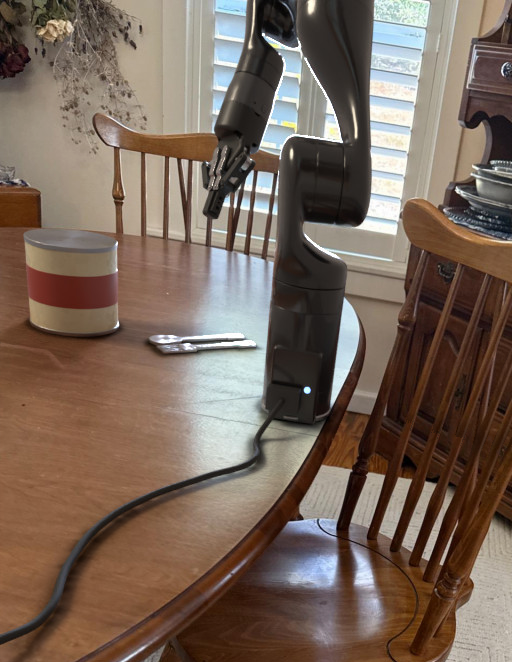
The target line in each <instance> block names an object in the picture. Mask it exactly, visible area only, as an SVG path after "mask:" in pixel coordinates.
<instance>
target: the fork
mask: <svg viewBox="0 0 512 662" xmlns="http://www.w3.org/2000/svg"><path fill="white" fill-rule="evenodd" d="M235 348H236V349H237V348H238V349H247V348H257V343H255V342H254V341H252V340H239V341H233V342H221V343H219V342H218V343H203V344H201V343H200V344H191V342H186V343H181V344H178V345H163V346H159V345H156V349H157V350H158V351H159V352H161V353H162V354H163V355H167V354H168V355H169V354H180V353H181V354H184V353H197V351H201V350H202V351H203V350H204V351H205V350H218V349H235Z"/></svg>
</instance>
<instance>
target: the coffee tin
mask: <svg viewBox="0 0 512 662" xmlns="http://www.w3.org/2000/svg"><path fill="white" fill-rule="evenodd" d="M23 241H24V251H25V270H26V283H27V295H28V306H29V307H28V308H29V324H30V326H32V328H34V329H36V330H38V331H41V332H44V333H47V334H51V335H55V336H56V335H57V336H64V337H72V338H73V337H75V338H90V337H100V336H106V335H110V334H112V333H115V332H116V331H118V330H119V327H120V323H119V302H118V301H119V274H118V273H119V272H118V248H119V247H118V245H119V244H118V241H117V240H116V239H115V238H113V237H111V236H108V235H105V234H101V233H97V232H92V231H87V230H80V229H70V228H37V229H30V230H26V231H25V232H24V233H23Z"/></svg>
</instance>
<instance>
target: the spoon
mask: <svg viewBox="0 0 512 662" xmlns="http://www.w3.org/2000/svg"><path fill="white" fill-rule="evenodd" d="M245 339H246V336H245V335H243V334H241V333H239V332H237V333H236V332H235V333H222V334H211V335H210V334H209V335H192V336H177V335H172V334H171V335H164V334H154V335H150V336H149V338H148V341H149V343H150V344H152V345H154V346H163V345H178V344H183V343H191V342H193V343H194V342H209V341H245Z"/></svg>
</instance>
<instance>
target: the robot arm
mask: <svg viewBox="0 0 512 662" xmlns="http://www.w3.org/2000/svg"><path fill="white" fill-rule="evenodd" d="M374 22H375V0H246V7H245V27H244V28H245V29H244V38H243V46H242V48H241V53H240V56H239V59H238V61H237V62H238V63H237V65H236V68H235V71H234V74H233V76H232V78H231V80H230V83H229V84H228V86H227V89H226V92H225V95H224V97H223V101H222V103H221V106H220V109H219V112H218V114H217V117H216V121H215V124H214V126H213V132H214V135H215V137H216V138H217V141H218V144H217V145H216V147H215V148H214V150H213V152H212V159H211V160H210V161H209V162H207V160H204V161H202V163H201V165H200V168H201V180H202V188H203V189H204V190H205V191H207V192H208V194H207V197H206V200H205V202H204V205H203V208H202V215H203V217H205V218H207V219H209V220H211V221H212V220H219V217H220V214H221V212H222V209H223V206H224V203H225V200H226V199H227V198H229V197H230V195H231V193H232V194H236V192H237V191H238V190H239V188H240V187H241V186H242V185H243V183H244V181H246V179H247V178H248V176H249V175H250V174H251V172H252V171H253V169H254V168H255V167H256V164H257V162H256V161H255V160H254V159H252V157H251V155H255V154H256V153H258V152H259V151H260V148H261V145H262V143H263V139H264V137H265V133H266V130H267V128H268V125H269V122H270V119H271V116H272V113H273V110H274V105H275V101H276V97H277V94H278V91H279V88H280V86H281V83H282V80H283V76H284V73H285V70H286V62H285V59H284V57H283V56H282V54H281V53H280V52H279V51H278V50H277V49H276V48H275V47H274V46H273V45H271V44H270V43H269V42H268V41H267V40H266V38H268V39H269V40H271V41H273V42H275V43H277V44H279V45H281V46H283V47H285V48H287V49H289V50H297V49H299V48H300V51H301V53H302V56H303V57H304V60H305V61H306V63H307V65H308V67H309V68H310V71H311V73H312V74H313V76H314V78H315V80H316V81H317V83H318V85H319V86H320V88H321V89H322V91H323V93H324V95H325V97H326V98H327V100H328V102H329V105H330V108H331V109H332V112H333V114H334V118H335V121H336V124H337V128H338V133H339V139H340V140H333V139H328V138H320V137H315V136H308V135H300V134H292V135H290V136H288V137H287V138H286V139H285V141H284V143H283V145H282V147H281V151H280V156H279V162H278V176H277V203H276V204H277V207H276V209H277V210H276V230H275V231H276V232H275V242H274V243H275V245H274V256H273V265H272V274H271V275H272V277H271V287H270V288H271V289H270V301H269V310H268V311H269V312H268V323H267V324H268V325H267V333H266V334H267V335H266V345H265V346H266V348H265V361H264V372H263V385H262V388H263V389H262V397H261V400H260V407H261V409H262V410H263V411H264V412H265V413H267V417H266V418H265V420H264V422H262V424H261V426H260V427H259V429H258V430H257V431H256V433H255V435H254V437H253V441H252V447H253V455H252V456H251V457H250V458H248V459H247V460H245V461H244V462H241V463H239V464H236V465H232V466H228V467H224V468H220V469H216V470H212V471H208V472H205V473H202V474H199V475H196V476H193V477H190V478H187V479H184V480H181V481H177V482H174V483H171V484H168V485H165V486H162V487H159V488H156V489H154V490H151V491H149V492H147V493H144V494H142V495H141V496H138V497H136V498H134V499H132V500H130V501H128V502H126V503H124V504H122V505H121V506H119V507H117V508H115V509H114V510H112V511H110V512H109V513H108V514H106V515H105V516H104V517H102V518H101V519H100V520H98V521H97V522H96V523H94V525H93V526H91V527H90V528H89V529H88V530H87V531H86V532H85V533H84V534H83V536H82V537H81V538H80V539H79V540H78V542H77V543H76V545H74V547H73V549H72V550H71V552H70V553H69V554H68V556H67V558H66V559H65V560H64V562H63V564H62V566H61V568H60V569H59V572H58V574H57V577H56V579H55V584H54V587H53V590H52V593H51V597H50V599H49V600H48V602H47V604H46V605H45V606H44V608H43V609H42V611H40V613H38V614H37V616H35V617H34V618H32V619H31V620H30V621H28V622H27V623H25V624H22V625H20V626H17V627H16V628H13V629H10V630H8V631H6V632H3V633H0V646H2V645H4V644H6V643H9V642H11V641H14V640H16V639H19V638H22V637H23V636H25V635H28V634H30V633H32V632H34V631H35V630H37V629H38V628H39V627H41V626H42V625H43V624H44V623H45V622H47V621H48V619H49V618H50V617H51V616H52V615H53V613H54V612H55V610H56V608H57V607H58V604H59V603H60V601H61V598H62V595H63V592H64V589H65V585H66V581H67V578H68V576H69V573H70V571H71V570H72V568H73V565H74V564H75V562H76V561H77V560H78V559H79V557H80V555H81V553H82V552H83V550H84V549H85V548H86V546H87V545H88V544H89V542H90V541H91V540H92V539H93V538H94V537H95V536H96V535H97V534H98V533H100V532H101V531H102V529H104V528H105V527H106V526H107V525H109V524H110V523H111V522H113V521H114V520H115V519H117V518H118V517H121V516H122V515H123V514H125V513H127V512H129V511H131V510H133V509H134V508H136V507H138V506H141V505H142V504H144V503H147V502H149V501H151V500H153V499H155V498H158V497H161V496H164V495H165V494H168V493H171V492H175V491H176V490H177V491H178V490H180V489H183V488H186V487H189V486H192V485H195V484H198V483H201V482H204V481H208V480H210V479H213V478H217V477H223V476H225V475H229V474H234V473H237V472H240V471H244V470H246V469H248V468H249V467H251V466H253V465H254V464H255V463H257V462H258V460H259V459H260V457H261V449H260V441H261V438H262V436H263V435H264V433H265V432H266V430H267V429H268V427H269V426H270V424H271V423H272V422H273V420H274V419H278V420H282V421H283V420H284V421H290V422H296V423H301V424H307V425H308V424H309V425H315V423H316V422H318V421H323V420H325V419H327V418H328V417H329V416H330V415H331V404H332V403H331V402H332V396H333V395H332V394H333V387H334V378H335V369H336V362H337V355H338V349H339V348H338V347H339V340H340V339H339V338H340V330H341V323H342V318H343V317H342V316H343V309H344V302H345V301H344V300H345V294H346V286H347V280H348V265H347V263H346V261H344V260H343V259H342V258H341V257H340V256H338V255H336V254H334V253H332V252H330V251H328V250H325V249H324V248H322V247H320V246H319V245H317V243H315V242H314V241H312V240H311V239H310V238H309V236H307V235H306V234H305V232H304V224H312V225H313V224H314V225H322V226H329V227H337V228H346V229H347V228H348V229H351V228H352V229H353V228H357V227H358V228H359V227H360V226H361V225H362V224H363V223H364V221H365V220H366V218H367V215H368V213H369V209H370V203H371V199H372V198H371V196H372V184H373V181H372V180H373V165H372V163H373V160H372V159H373V157H372V128H371V72H372V71H371V70H372V55H373V40H374V28H375V27H374V26H375V25H374V24H375V23H374Z"/></svg>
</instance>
